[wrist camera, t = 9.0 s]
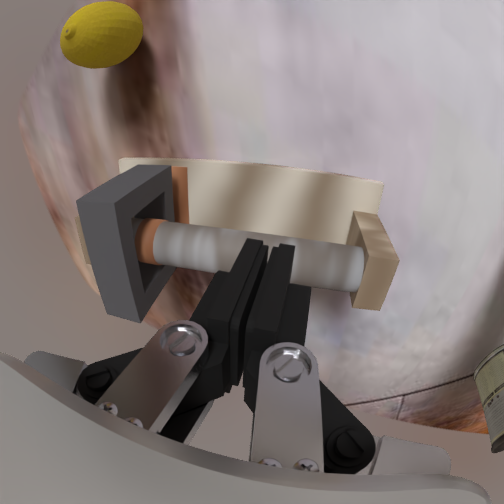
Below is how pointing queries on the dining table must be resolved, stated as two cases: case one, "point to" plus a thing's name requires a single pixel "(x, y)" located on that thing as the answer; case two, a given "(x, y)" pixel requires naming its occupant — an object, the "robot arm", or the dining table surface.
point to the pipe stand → (271, 224)
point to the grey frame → (126, 237)
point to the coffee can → (492, 395)
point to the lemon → (101, 34)
